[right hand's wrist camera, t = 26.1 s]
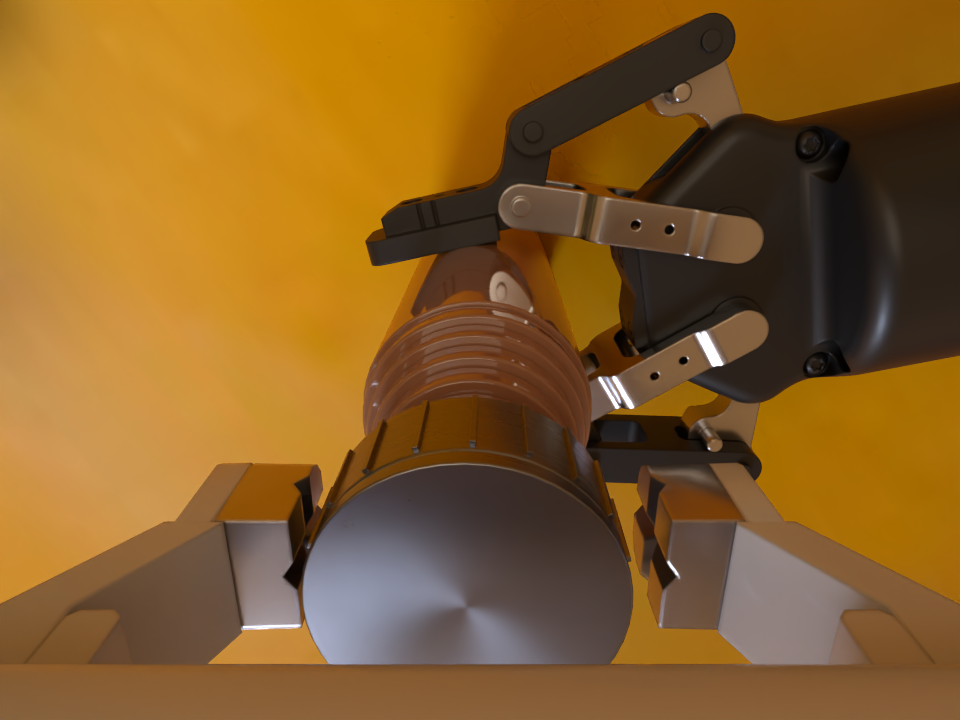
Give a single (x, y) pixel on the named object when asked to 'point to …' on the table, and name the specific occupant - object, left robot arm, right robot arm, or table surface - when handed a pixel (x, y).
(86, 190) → the table surface
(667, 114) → the left robot arm
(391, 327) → the bottle
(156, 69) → the table surface
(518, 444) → the cap
